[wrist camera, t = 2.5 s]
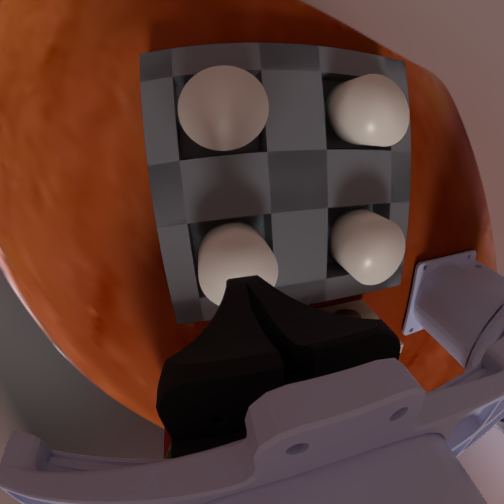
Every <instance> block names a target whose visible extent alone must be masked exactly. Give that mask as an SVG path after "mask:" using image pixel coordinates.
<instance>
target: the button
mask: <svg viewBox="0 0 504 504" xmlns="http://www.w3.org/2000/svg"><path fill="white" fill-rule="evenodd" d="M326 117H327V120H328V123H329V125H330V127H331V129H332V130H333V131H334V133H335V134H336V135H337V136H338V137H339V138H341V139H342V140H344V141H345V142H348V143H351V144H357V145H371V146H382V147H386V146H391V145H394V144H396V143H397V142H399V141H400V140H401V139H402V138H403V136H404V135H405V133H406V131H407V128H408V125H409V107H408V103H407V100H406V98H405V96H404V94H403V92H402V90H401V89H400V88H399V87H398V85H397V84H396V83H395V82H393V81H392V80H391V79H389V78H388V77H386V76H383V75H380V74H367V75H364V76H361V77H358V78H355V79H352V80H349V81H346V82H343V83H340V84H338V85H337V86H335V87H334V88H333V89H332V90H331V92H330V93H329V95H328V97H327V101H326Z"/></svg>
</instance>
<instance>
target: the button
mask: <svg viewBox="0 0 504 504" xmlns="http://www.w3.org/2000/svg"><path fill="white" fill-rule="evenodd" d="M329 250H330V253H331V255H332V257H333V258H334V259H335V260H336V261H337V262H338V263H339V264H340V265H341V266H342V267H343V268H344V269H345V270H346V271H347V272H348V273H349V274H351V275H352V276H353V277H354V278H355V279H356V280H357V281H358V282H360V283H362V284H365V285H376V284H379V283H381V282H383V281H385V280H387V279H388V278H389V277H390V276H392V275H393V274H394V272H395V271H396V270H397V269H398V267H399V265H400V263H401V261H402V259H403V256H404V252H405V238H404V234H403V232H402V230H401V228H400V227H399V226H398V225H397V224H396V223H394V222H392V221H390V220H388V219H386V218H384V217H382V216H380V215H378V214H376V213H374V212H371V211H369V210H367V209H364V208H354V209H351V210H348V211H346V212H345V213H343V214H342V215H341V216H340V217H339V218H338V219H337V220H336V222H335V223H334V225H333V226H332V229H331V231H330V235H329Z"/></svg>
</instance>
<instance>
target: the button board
mask: <svg viewBox="0 0 504 504" xmlns="http://www.w3.org/2000/svg"><path fill="white" fill-rule="evenodd" d="M221 65H227V66H234V67H238V68H241V69H243V70H245V71H247V72H249V73H251V74H252V75H253V76H254V77H256V78H257V79H258V80H259V82H260V83H261V84H262V86H263V87H264V89H265V91H266V94H267V97H268V102H269V113H268V118H267V121H266V124H265V126H264V128H263V129H262V131H261V132H260V134H259V135H258V136H257V137H256V138H255V139H254V140H252V141H251V142H250V143H248V144H246V145H245V146H242V147H240V148H237V149H234V150H228V151H218V150H212V149H208V148H205V147H203V146H201V145H199V144H197V143H196V142H194V141H193V140H192V139H191V138H190V137H189V136H188V135H187V134H186V133H185V131H184V129H183V128H182V126H181V124H180V120H179V117H178V101H179V97H180V94H181V92H182V90H183V88H184V86H185V85H186V83H187V82H188V81H189V80H190V79H191V78H192V77H193V76H194V75H196V74H197V73H199V72H201V71H202V70H205V69H207V68H210V67H214V66H221ZM367 74H380V75H383V76H386V77H388V78H389V79H391V80H392V81H393V82H395V83H396V84H397V85H398V87H399V88H400V89H401V90H402V92H403V94H404V96H405V98H406V100H407V103H408V107H409V99H408V88H407V78H406V70H405V63H404V61H400V60H396V59H392V58H388V57H383V56H379V55H374V54H369V53H364V52H358V51H353V50H346V49H340V48H333V47H324V46H315V45H304V44H290V43H222V44H207V45H196V46H187V47H179V48H172V49H165V50H159V51H153V52H148V53H143V54H140V82H141V100H142V115H143V127H144V138H145V147H146V156H147V165H148V173H149V181H150V188H151V195H152V202H153V208H154V214H155V220H156V226H157V232H158V238H159V243H160V248H161V254H162V259H163V264H164V269H165V273H166V278H167V283H168V287H169V292H170V296H171V300H172V305H173V309H174V313H175V317H176V321H177V324H185V323H193V322H201V321H209V320H212V318H213V317H214V315H215V313H216V311H217V309H218V307H219V306H218V305H216V304H215V303H213V302H212V301H210V300H209V299H208V298H207V297H206V295H205V294H204V293H203V291H202V289H201V287H200V283H199V278H198V250H199V246H200V243H201V241H202V239H203V237H204V236H205V234H206V233H207V232H208V231H209V230H210V229H211V228H213V227H214V226H216V225H218V224H220V223H223V222H228V221H240V222H244V223H247V224H249V225H251V226H252V227H254V228H255V229H256V230H257V231H258V232H259V233H260V234H261V235H262V237H263V238H264V240H265V241H266V243H267V244H268V246H269V247H270V249H271V250H272V252H273V254H274V255H275V258H276V260H277V264H278V278H277V281H276V284H275V286H274V287H275V288H276V289H278V290H280V291H281V292H283V293H284V294H286V295H288V296H290V297H292V298H293V299H295V300H297V301H299V302H302V303H304V304H306V305H309V304H314V303H319V302H324V301H329V300H334V299H339V298H344V297H349V296H354V295H358V294H363V293H367V292H372V291H376V290H380V289H385V288H389V287H393V286H397V285H400V281H401V275H402V268H403V261H404V256H403V259H402V261H401V263H400V265H399V267H398V269H397V270H396V271H395V272H394V274H393V275H392V276H390V277H389V278H388V279H387V280H385V281H383V282H381V283H379V284H376V285H365V284H362V283H360V282H358V281H357V280H356V279H355V278H354V277H353V276H352V275H351V274H349V273H348V272H347V271H346V270H345V269H344V268H343V267H342V266H341V265H340V264H339V263H338V262H337V261H336V260H335V259H334V258H333V257H332V255H331V253H330V250H329V235H330V231H331V229H332V226H333V225H334V223H335V222H336V220H337V219H338V218H339V217H340V216H341V215H342V214H343V213H345V212H346V211H348V210H351V209H354V208H364V209H367V210H369V211H371V212H374V213H376V214H378V215H380V216H382V217H384V218H386V219H388V220H390V221H392V222H394V223H396V224H397V225H398V226H399V227H400V228H401V230H402V232H403V234H404V238H405V246H406V237H407V227H408V215H409V201H410V179H411V134H410V112H409V125H408V128H407V131H406V133H405V135H404V136H403V138H402V139H401V140H400V141H399V142H397V143H396V144H394V145H391V146H386V147H382V146H371V145H357V144H351V143H348V142H345V141H344V140H342V139H341V138H339V137H338V136H337V135H336V134H335V133H334V131H333V130H332V129H331V127H330V125H329V123H328V120H327V117H326V101H327V97H328V95H329V93H330V92H331V90H332V89H333V88H334V87H335V86H337V85H338V84H340V83H343V82H346V81H349V80H352V79H355V78H358V77H361V76H364V75H367ZM404 254H405V252H404Z"/></svg>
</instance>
